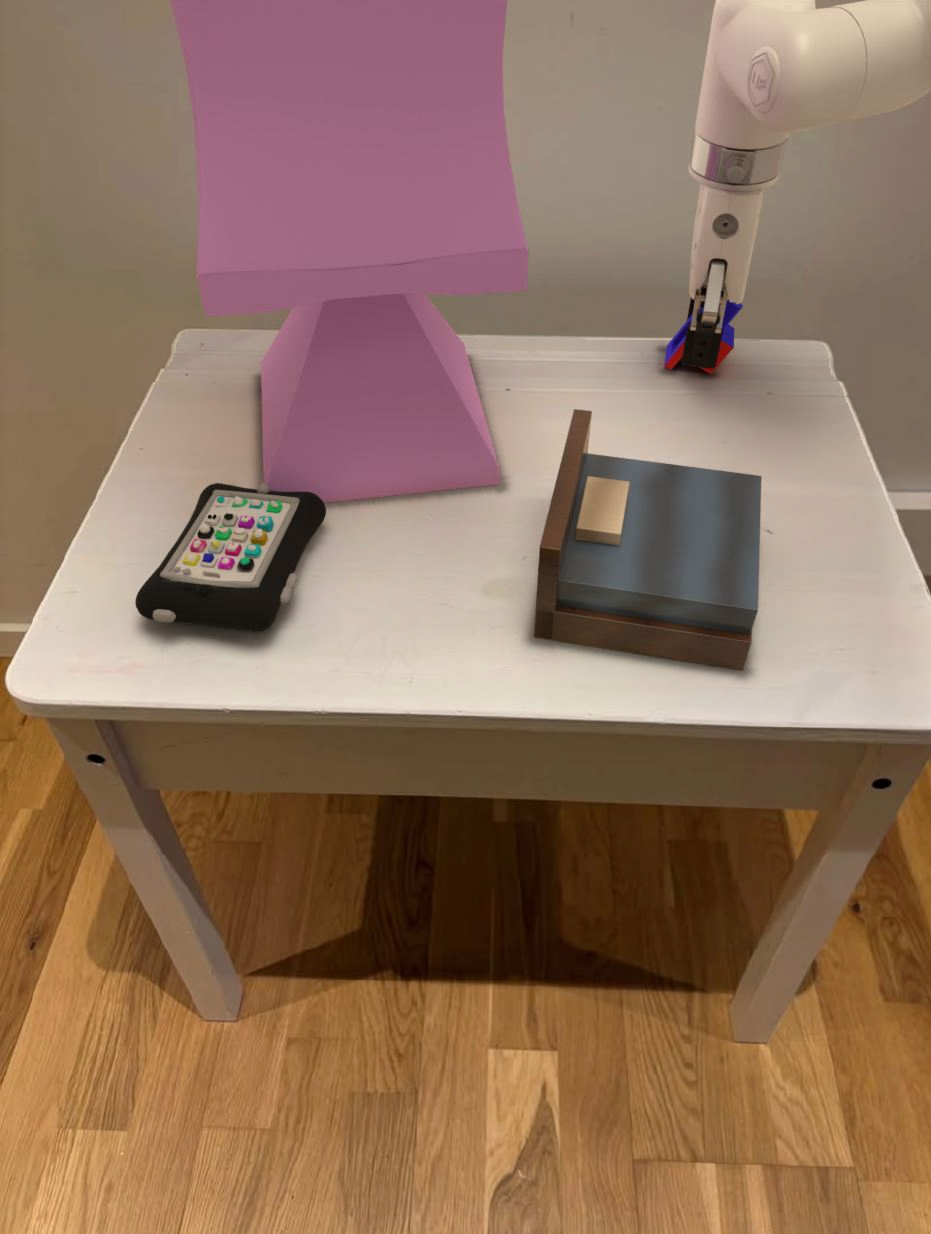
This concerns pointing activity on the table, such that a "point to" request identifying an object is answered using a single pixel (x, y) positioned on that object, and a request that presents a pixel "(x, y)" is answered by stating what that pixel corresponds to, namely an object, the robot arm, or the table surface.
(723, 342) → the toy building block
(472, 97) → the pink table lamp
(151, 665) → the table surface
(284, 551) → the phone
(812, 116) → the robot arm
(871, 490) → the table surface
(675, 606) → the doll bed
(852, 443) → the table surface
